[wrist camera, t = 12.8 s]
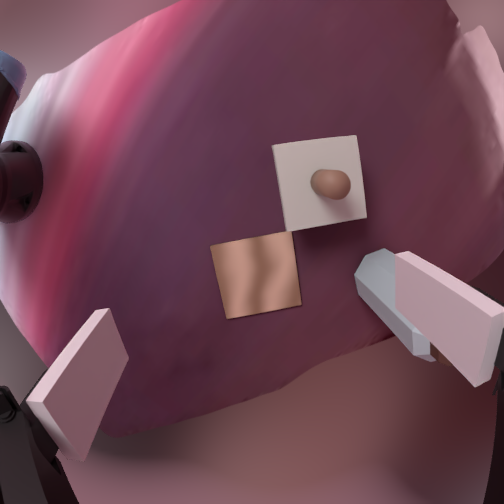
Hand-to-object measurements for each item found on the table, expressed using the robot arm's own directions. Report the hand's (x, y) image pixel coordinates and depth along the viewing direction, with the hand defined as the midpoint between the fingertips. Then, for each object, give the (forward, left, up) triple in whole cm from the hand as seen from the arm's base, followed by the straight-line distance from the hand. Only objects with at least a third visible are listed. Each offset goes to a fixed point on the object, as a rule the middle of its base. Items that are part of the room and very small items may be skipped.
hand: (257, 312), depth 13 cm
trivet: (+1, -12, -37) cm, 39 cm away
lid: (+12, +2, -31) cm, 33 cm away
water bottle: (+22, -16, -37) cm, 46 cm away
